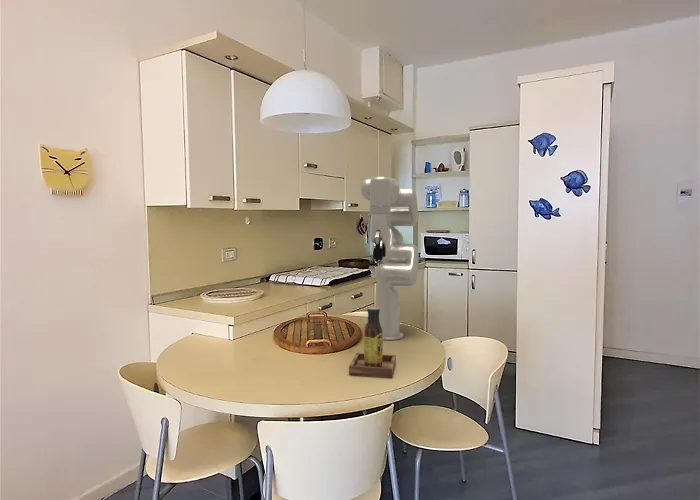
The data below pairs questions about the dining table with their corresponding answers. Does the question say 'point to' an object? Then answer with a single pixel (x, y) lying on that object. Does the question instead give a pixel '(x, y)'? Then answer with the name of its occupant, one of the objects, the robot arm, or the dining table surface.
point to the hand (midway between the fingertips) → (379, 258)
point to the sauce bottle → (373, 339)
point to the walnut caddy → (361, 370)
